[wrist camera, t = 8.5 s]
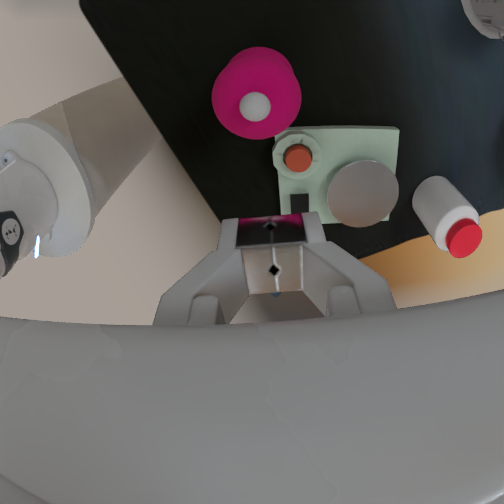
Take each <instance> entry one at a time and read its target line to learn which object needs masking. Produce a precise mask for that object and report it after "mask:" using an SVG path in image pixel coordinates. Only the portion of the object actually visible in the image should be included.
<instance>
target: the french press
mask: <svg viewBox="0 0 504 504" xmlns="http://www.w3.org/2000/svg"><path fill="white" fill-rule="evenodd" d="M461 2H462V5H463V8H464V12H465V14H466V15H467V17H468V19H469V20H470V22H471V24H472V25H473V26H474V27H475V28H476V29H477V30H478V31H479V32H480V33H481V34H483V35H485V36H486V37H488V38H493V39H499V38H501V39H502V40H504V39H503V38H502V36H503V35H504V0H461Z"/></svg>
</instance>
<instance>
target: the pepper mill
mask: <svg viewBox="0 0 504 504" xmlns="http://www.w3.org/2000/svg"><path fill="white" fill-rule="evenodd" d="M212 104H213V109H214V112H215V114H216V116H217V118H218V119H219V121H220V122H221V123H222V125H223V126H224V127H225V128H227V129H228V130H229V131H231V132H232V133H234V134H236V135H238V136H241V137H244V138H248V139H265V138H269V137H273V136H275V135H277V134H280V133H281V132H283V131H284V130H286V129H287V128H288V127H289V126H290V125H291V123H292V122H293V121H294V120H295V118H296V116H297V114H298V112H299V109H300V105H301V90H300V86H299V83H298V81H297V79H296V77H295V76H294V73H293V69H292V67H291V65H290V63H289V61H288V60H287V59H286V58H285V57H284V56H283V55H282V54H280V53H279V52H277V51H275V50H273V49H270V48H266V47H253V48H248V49H245V50H243V51H241V52H239V53H238V54H237V55H235V56H234V57H233V58H232V59H231V61H230V62H229V64H228V65H227V66H226V67H225V68H224V69H223V70H222V71H221V72H220V74H219V75H218V77H217V79H216V81H215V83H214V86H213V90H212Z"/></svg>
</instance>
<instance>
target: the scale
mask: <svg viewBox="0 0 504 504" xmlns="http://www.w3.org/2000/svg"><path fill="white" fill-rule="evenodd" d="M398 141H399V129H397V128H396V127H387V126H305V127H288V128H287V129H286V130H284V131H283V132H281V133H280V134H277V135H275V144H274V146H273V148H272V154H273V164H274V166H275V167H276V169H277V170H278V180H279V192H280V206H281V215H287V214H291V204H290V194H304V193H309V212H314V211H317V212H318V214H319V217H320V220H321V224H326V223H341V222H340V221H338V220H337V219H336V218H335V217H334V216H333V215H332V213H331V211H330V210H329V207H328V204H327V189H328V186H329V183H330V181H331V179H332V178H333V176H334V175H335V174H336V173H337V172H338V170H340V169H341V168H342V167H344V166H345V165H347V164H349V163H351V162H354V161H357V160H364V159H369V160H375V161H378V162H381V163H383V164H385V165H386V166H387V167H388V168H389V169H390V170H391V171H392V172H393V173H394V175H395V171H396V162H397V152H398ZM294 145H301V146H304V147H305V148H307V149H308V151H309V153H310V156H311V160H312V161H311V165H310V167H309V168H308V169H307V170H306V171H304V172H293V171H291V170H290V169H289V168H288V167H287V165H286V160H285V154H286V151H287V150H288V149H289V148H290V147H291V146H294ZM389 214H390V213H389ZM389 214H388V215H387V216H386V217H385V218H384V219H383V220H381V221H387V220H389Z"/></svg>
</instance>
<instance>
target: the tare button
mask: <svg viewBox="0 0 504 504" xmlns="http://www.w3.org/2000/svg"><path fill="white" fill-rule="evenodd" d="M285 160H286V165H287V167H288V168H289V169H290V170H291V171H293V172H304V171H306V170H307V169H308V168H309V167H310V165H311V161H312V160H311V156H310V153H309V151H308V149H307V148H305V147H304V146H301V145H294V146H291V147H290V148H289V149H288V150H287V151H286V154H285Z"/></svg>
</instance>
